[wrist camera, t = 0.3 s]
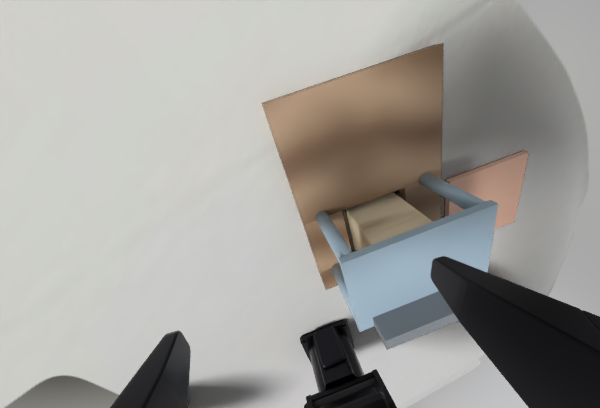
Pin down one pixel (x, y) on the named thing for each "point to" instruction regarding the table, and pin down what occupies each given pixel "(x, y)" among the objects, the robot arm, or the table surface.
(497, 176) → the terracotta tile
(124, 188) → the table surface
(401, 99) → the puzzle board
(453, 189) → the light blue toy bench
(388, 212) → the maple block
